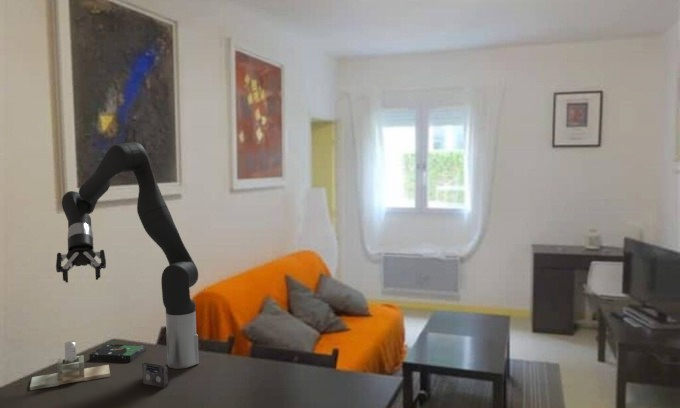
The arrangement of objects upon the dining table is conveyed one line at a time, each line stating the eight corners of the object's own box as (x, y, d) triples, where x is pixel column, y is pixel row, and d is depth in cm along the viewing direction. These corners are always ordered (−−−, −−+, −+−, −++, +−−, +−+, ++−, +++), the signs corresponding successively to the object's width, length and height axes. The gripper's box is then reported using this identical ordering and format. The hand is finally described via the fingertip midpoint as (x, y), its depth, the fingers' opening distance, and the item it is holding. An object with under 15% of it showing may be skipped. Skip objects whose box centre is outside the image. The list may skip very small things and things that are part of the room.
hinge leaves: (108, 367, 164) (108, 350, 163) (110, 376, 156) (109, 358, 156) (32, 380, 154) (31, 362, 154) (30, 390, 147) (29, 371, 147)
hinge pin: (76, 372, 157) (76, 340, 157) (76, 376, 154) (75, 343, 154) (65, 374, 156) (64, 341, 155) (65, 377, 153) (64, 344, 153)
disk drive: (88, 362, 170) (131, 363, 168) (88, 354, 170) (131, 355, 168) (106, 351, 180) (146, 352, 179) (105, 343, 180) (146, 344, 178)
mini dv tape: (167, 386, 149) (167, 366, 149) (164, 388, 148) (163, 367, 147) (146, 381, 152) (146, 361, 152) (143, 383, 151) (142, 363, 151)
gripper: (55, 233, 165) (55, 275, 155) (103, 231, 171) (107, 270, 162) (56, 248, 170) (57, 289, 160) (103, 244, 176) (106, 284, 167)
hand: (82, 279), depth 161 cm, fingers open, 8 cm apart
